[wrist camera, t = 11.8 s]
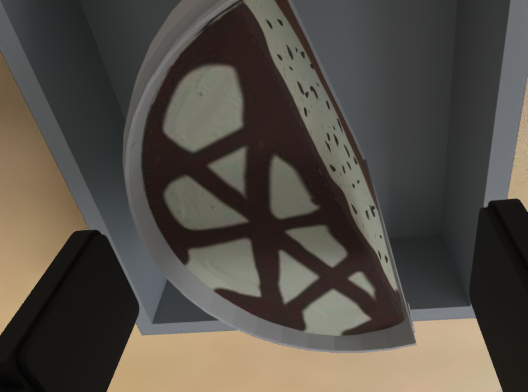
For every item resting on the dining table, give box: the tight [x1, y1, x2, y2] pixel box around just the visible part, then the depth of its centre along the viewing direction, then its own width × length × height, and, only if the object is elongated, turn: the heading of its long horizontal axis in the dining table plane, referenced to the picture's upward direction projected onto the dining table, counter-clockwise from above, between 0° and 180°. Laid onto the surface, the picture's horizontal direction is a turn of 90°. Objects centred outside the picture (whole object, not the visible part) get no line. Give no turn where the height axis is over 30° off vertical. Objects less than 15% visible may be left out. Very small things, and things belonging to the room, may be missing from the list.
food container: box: [122, 0, 417, 353], centre depth 16 cm, size 12×6×10 cm, turn 28°
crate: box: [0, 0, 528, 335], centre depth 18 cm, size 17×19×6 cm
